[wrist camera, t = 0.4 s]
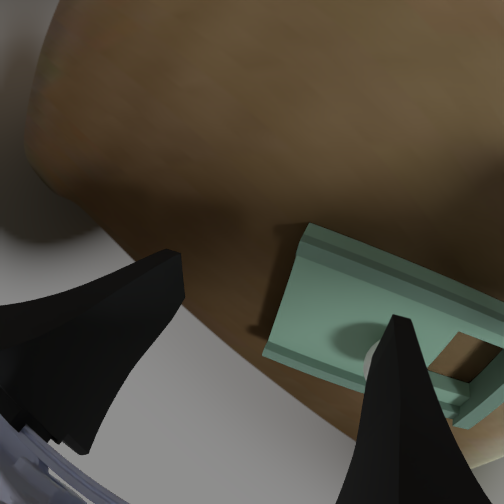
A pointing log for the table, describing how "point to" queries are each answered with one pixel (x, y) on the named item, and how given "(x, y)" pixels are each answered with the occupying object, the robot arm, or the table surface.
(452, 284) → the green tray
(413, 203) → the table surface
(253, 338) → the table surface
